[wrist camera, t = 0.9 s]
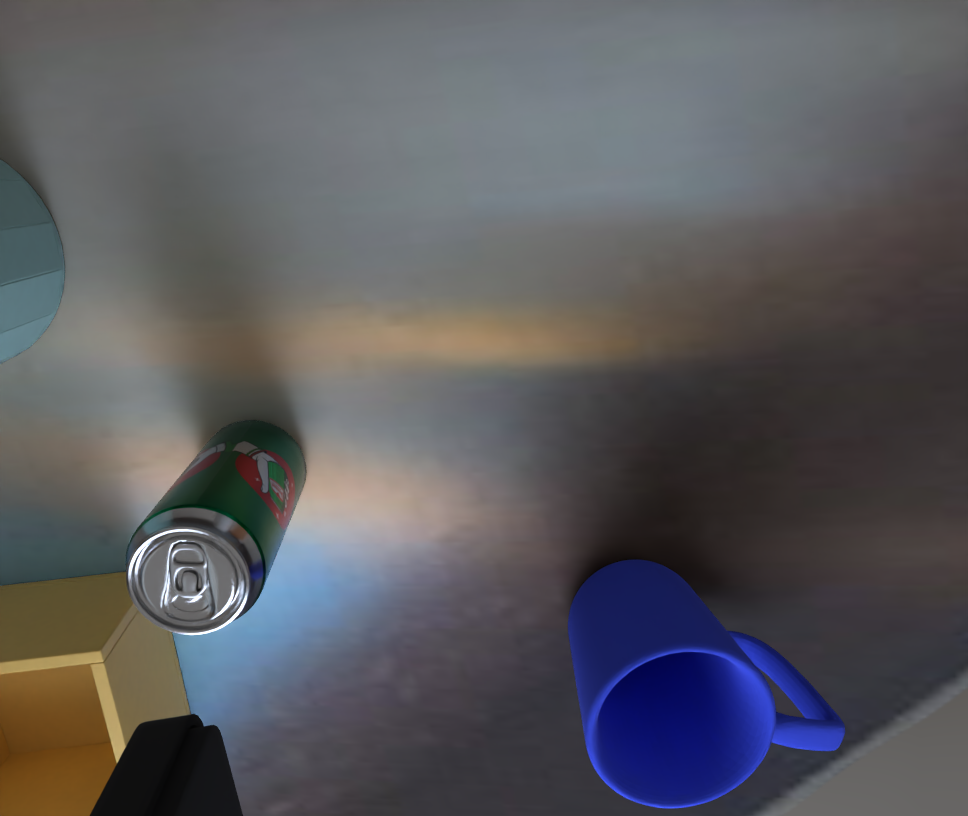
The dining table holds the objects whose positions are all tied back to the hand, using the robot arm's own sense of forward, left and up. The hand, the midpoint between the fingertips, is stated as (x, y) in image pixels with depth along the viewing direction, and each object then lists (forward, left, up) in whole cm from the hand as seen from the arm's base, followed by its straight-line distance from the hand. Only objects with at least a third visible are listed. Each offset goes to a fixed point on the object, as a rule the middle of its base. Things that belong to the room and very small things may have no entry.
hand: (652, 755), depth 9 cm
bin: (+17, -23, -31) cm, 42 cm away
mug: (+18, +8, -32) cm, 37 cm away
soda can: (+7, -12, -32) cm, 34 cm away
